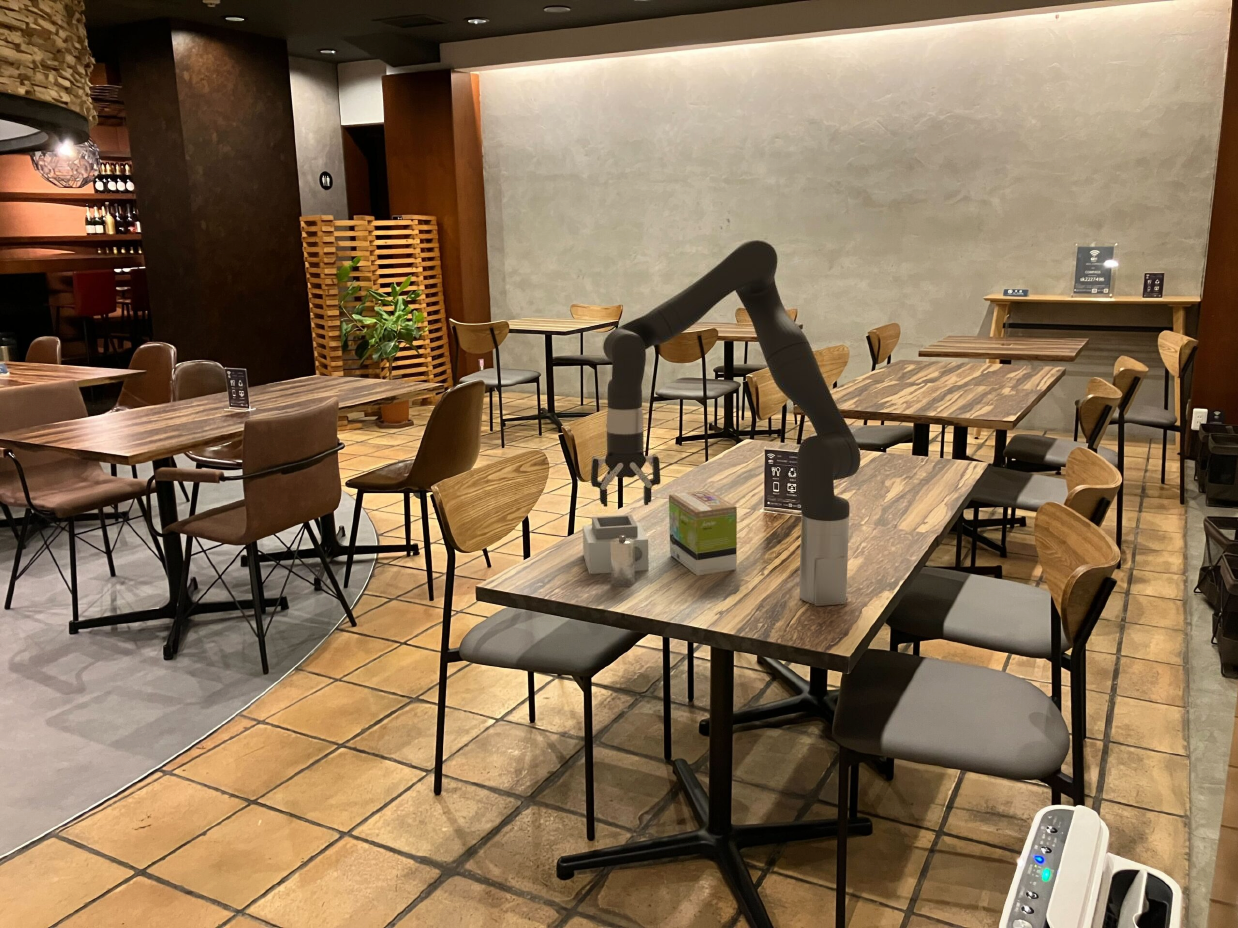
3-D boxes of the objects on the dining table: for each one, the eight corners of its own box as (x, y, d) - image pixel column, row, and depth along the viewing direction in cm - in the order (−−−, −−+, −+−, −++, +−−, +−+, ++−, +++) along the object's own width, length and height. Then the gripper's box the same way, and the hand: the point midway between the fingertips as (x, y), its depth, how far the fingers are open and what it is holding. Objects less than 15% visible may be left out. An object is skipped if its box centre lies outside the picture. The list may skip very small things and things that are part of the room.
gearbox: (649, 571, 211) (648, 529, 209) (589, 575, 210) (588, 532, 207) (639, 551, 225) (638, 511, 222) (583, 554, 223) (582, 514, 221)
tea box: (668, 555, 221) (667, 493, 218) (708, 550, 225) (708, 488, 221) (696, 576, 207) (696, 510, 204) (738, 570, 211) (738, 504, 207)
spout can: (636, 585, 203) (635, 538, 200) (613, 587, 202) (611, 540, 200) (633, 577, 208) (632, 531, 205) (609, 579, 207) (608, 533, 205)
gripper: (591, 433, 194) (593, 511, 198) (662, 431, 195) (662, 508, 199) (588, 426, 201) (590, 501, 205) (656, 423, 203) (657, 498, 207)
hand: (625, 505), depth 202 cm, fingers open, 8 cm apart
